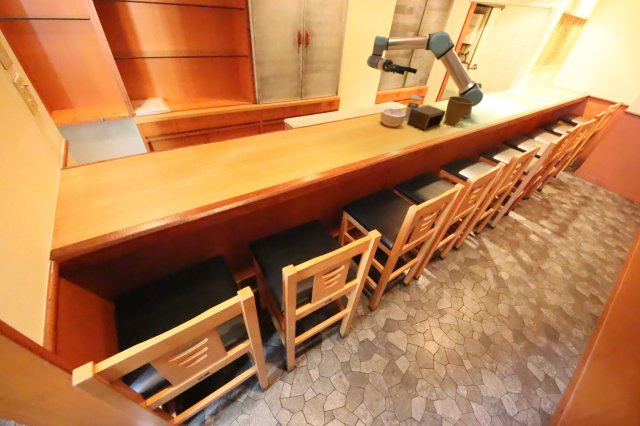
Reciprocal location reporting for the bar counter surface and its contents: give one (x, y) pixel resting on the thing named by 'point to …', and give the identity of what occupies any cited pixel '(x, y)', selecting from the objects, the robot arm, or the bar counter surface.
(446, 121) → the plant pot
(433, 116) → the shelf
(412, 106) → the french press
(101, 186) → the bar counter surface
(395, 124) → the paper bowls
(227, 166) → the bar counter surface
